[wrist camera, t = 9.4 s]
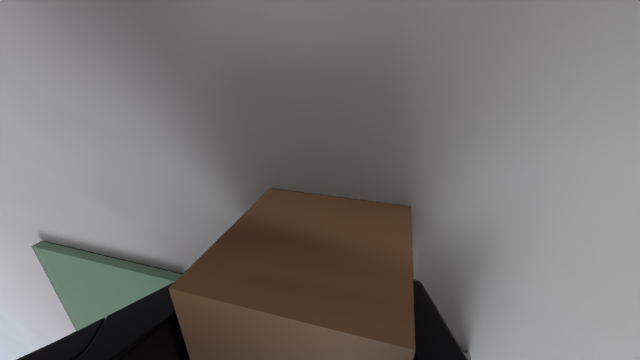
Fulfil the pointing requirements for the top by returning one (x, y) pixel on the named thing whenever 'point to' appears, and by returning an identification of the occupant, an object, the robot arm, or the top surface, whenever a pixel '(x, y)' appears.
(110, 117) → the top surface
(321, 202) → the block
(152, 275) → the coaster
